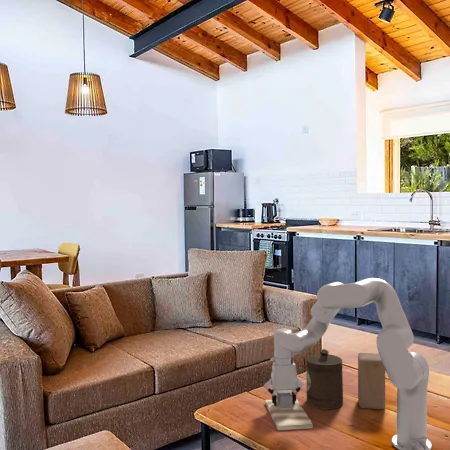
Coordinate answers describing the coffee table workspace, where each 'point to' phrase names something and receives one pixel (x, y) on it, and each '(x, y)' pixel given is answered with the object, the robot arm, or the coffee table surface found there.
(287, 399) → the block
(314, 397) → the wooden container
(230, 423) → the coffee table surface
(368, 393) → the wooden block
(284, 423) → the board
